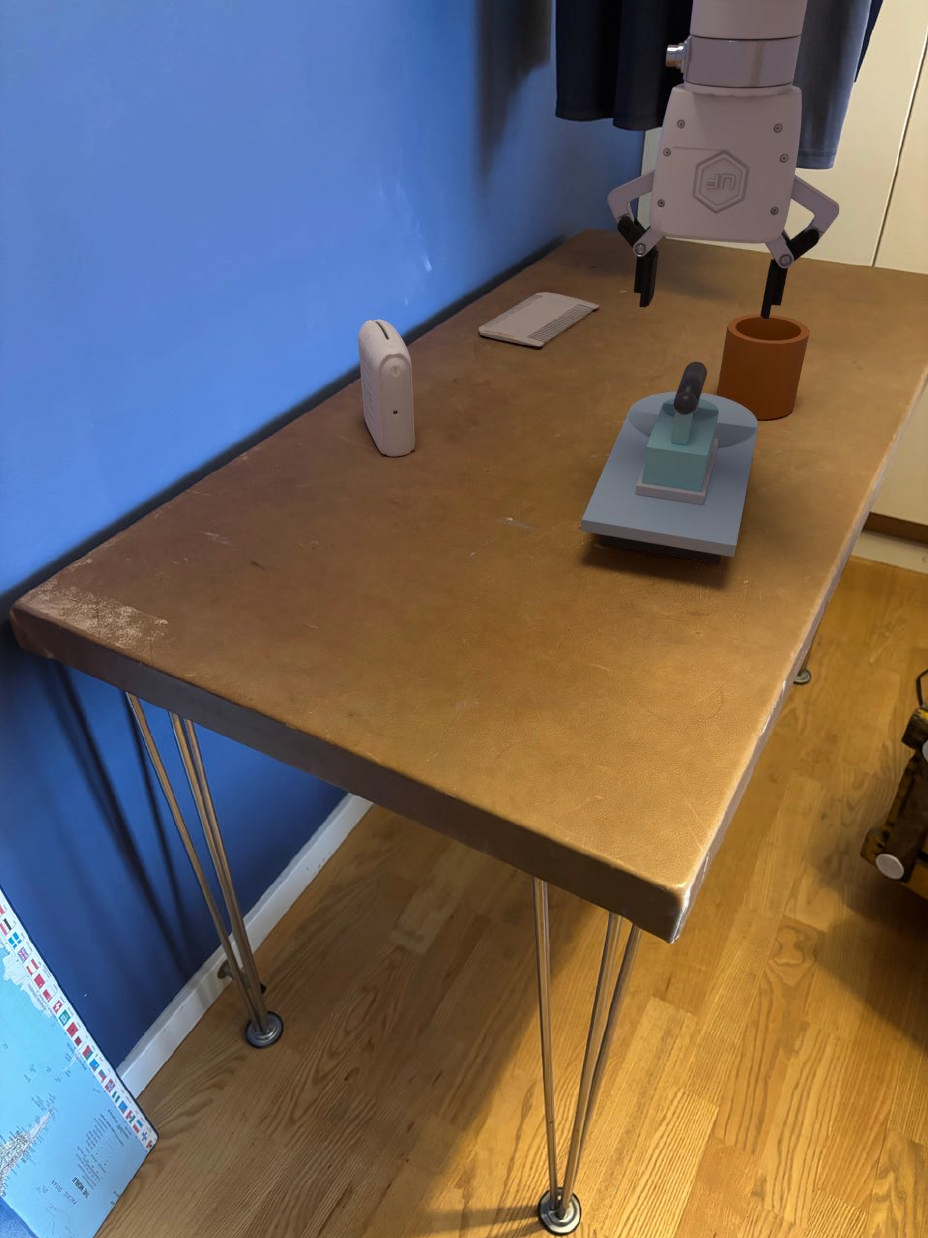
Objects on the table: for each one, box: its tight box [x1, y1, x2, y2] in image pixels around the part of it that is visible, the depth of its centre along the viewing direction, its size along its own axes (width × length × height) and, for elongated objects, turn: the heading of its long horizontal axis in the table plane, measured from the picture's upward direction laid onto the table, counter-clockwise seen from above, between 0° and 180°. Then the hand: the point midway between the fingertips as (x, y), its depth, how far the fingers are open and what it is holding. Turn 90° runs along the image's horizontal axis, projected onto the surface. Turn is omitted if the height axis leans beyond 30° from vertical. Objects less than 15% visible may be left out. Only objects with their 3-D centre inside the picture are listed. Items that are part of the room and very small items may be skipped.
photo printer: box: [357, 318, 416, 457], centre depth 97 cm, size 10×4×12 cm, turn 17°
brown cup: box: [716, 314, 811, 420], centre depth 105 cm, size 9×12×9 cm
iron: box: [635, 361, 719, 505], centre depth 82 cm, size 12×6×9 cm, turn 161°
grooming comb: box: [478, 291, 601, 348], centre depth 127 cm, size 18×10×1 cm, turn 147°
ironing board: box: [580, 391, 759, 565], centre depth 89 cm, size 13×28×5 cm, turn 161°
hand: (705, 307), depth 75 cm, fingers open, 9 cm apart
